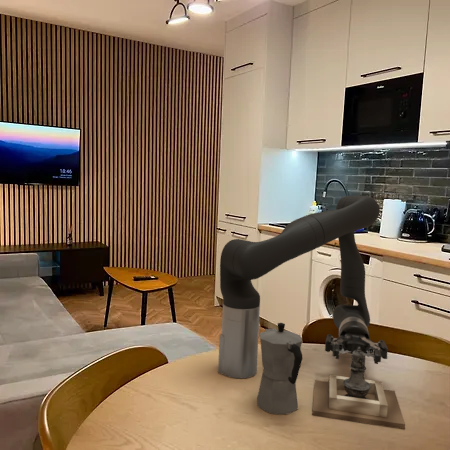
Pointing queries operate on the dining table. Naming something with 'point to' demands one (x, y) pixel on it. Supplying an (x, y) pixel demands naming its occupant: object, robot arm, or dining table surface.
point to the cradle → (357, 403)
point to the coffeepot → (279, 370)
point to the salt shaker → (357, 377)
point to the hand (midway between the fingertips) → (357, 357)
